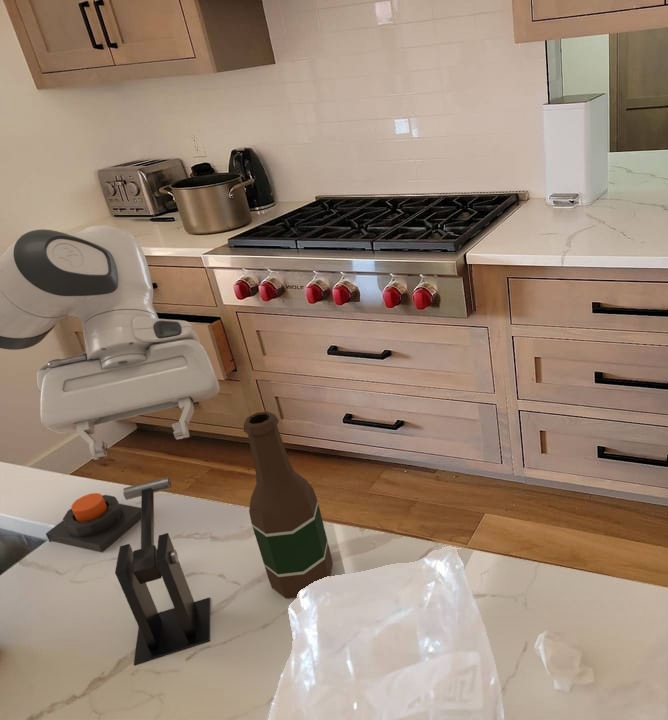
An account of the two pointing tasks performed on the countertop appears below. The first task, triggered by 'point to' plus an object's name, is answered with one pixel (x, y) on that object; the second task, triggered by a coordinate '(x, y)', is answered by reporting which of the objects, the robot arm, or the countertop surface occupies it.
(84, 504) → the button
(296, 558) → the beer bottle
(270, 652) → the countertop surface
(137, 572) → the power lever
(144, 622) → the power switch
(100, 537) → the panel
